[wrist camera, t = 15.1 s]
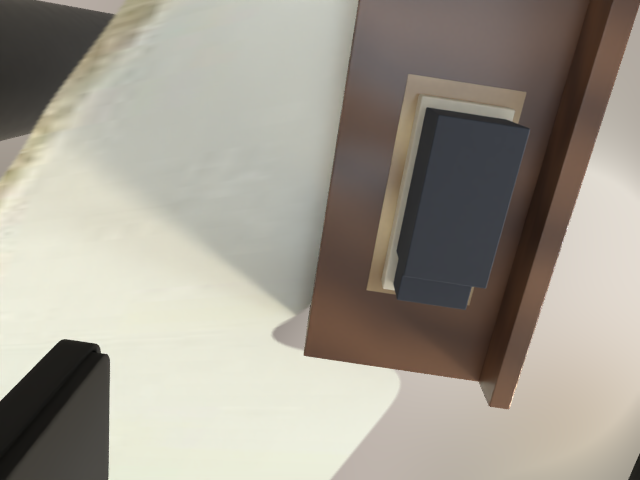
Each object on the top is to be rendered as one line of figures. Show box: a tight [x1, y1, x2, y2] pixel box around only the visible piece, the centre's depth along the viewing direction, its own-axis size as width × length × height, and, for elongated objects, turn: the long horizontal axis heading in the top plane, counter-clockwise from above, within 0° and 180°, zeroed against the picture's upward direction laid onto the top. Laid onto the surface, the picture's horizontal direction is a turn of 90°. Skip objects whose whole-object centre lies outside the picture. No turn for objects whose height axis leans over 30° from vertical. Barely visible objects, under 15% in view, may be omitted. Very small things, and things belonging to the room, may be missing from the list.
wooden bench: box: [304, 0, 640, 409], centre depth 29 cm, size 22×12×6 cm, turn 172°
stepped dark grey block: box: [381, 94, 530, 310], centre depth 26 cm, size 10×5×5 cm, turn 172°
